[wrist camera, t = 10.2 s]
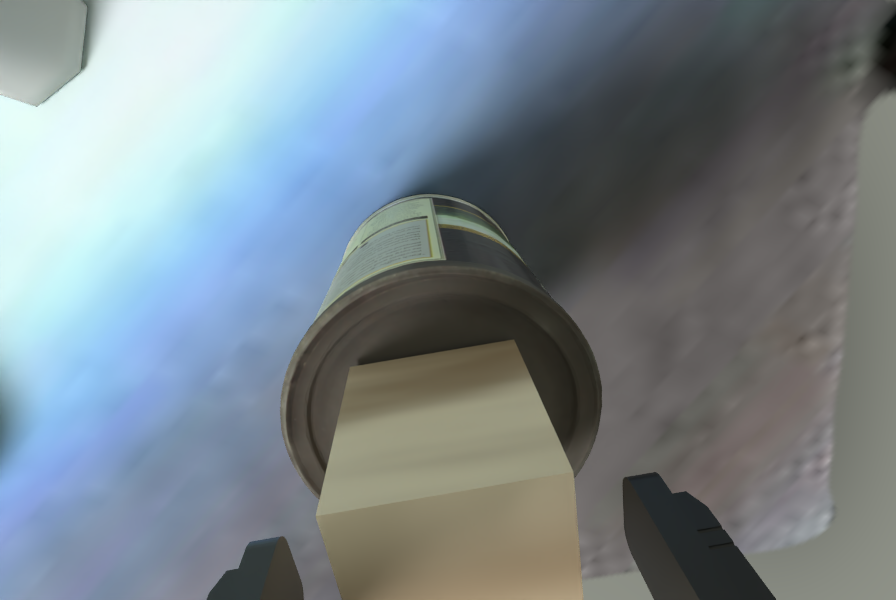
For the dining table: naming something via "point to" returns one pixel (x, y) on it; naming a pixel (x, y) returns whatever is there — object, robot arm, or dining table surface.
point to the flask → (39, 46)
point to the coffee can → (434, 323)
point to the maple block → (449, 483)
